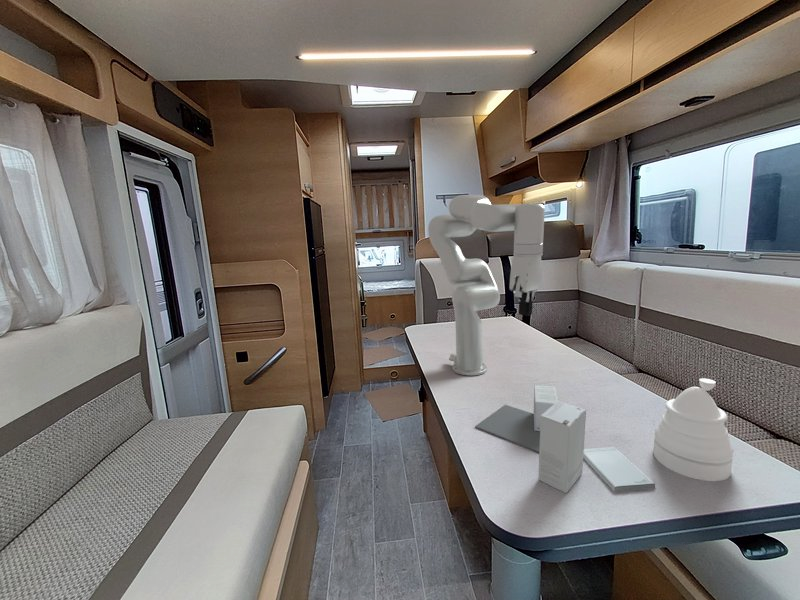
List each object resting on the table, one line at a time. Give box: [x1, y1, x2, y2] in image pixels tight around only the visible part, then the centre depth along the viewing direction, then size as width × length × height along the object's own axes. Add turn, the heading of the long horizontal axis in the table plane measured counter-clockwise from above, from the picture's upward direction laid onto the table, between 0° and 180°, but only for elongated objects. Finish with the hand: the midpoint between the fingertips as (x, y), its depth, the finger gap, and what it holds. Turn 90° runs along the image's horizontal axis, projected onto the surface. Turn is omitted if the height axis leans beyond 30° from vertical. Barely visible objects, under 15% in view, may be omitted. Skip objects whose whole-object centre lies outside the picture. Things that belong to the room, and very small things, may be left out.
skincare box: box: [538, 400, 587, 494], centre depth 72 cm, size 8×6×15 cm
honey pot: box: [652, 377, 734, 482], centre depth 75 cm, size 13×13×18 cm
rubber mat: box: [474, 404, 540, 454], centre depth 92 cm, size 20×16×1 cm
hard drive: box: [583, 446, 656, 493], centre depth 75 cm, size 2×8×12 cm
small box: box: [533, 384, 559, 431], centre depth 93 cm, size 8×6×10 cm
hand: (525, 314), depth 103 cm, fingers closed
